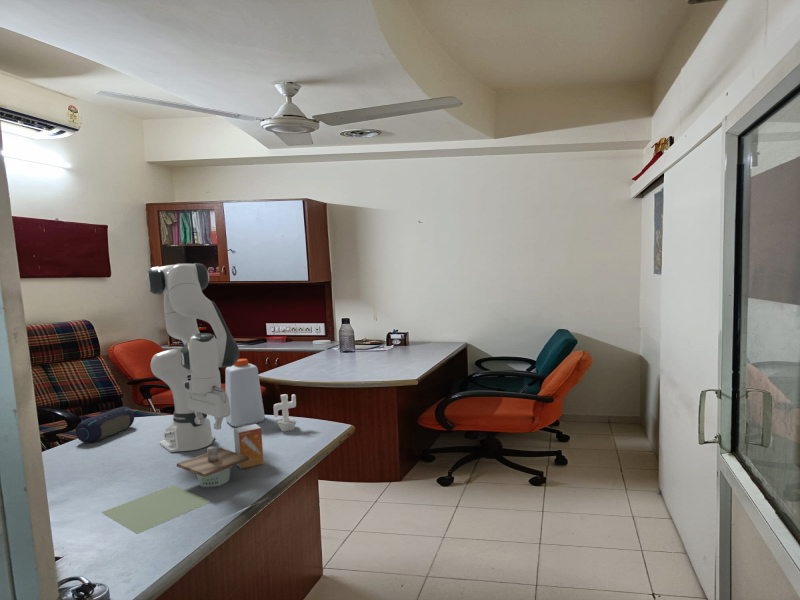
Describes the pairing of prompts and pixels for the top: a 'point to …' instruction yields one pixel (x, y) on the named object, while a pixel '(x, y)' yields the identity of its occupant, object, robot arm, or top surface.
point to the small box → (249, 444)
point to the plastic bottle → (244, 394)
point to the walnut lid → (212, 461)
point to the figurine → (285, 413)
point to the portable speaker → (104, 424)
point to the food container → (214, 478)
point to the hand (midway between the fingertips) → (209, 426)
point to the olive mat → (155, 508)
